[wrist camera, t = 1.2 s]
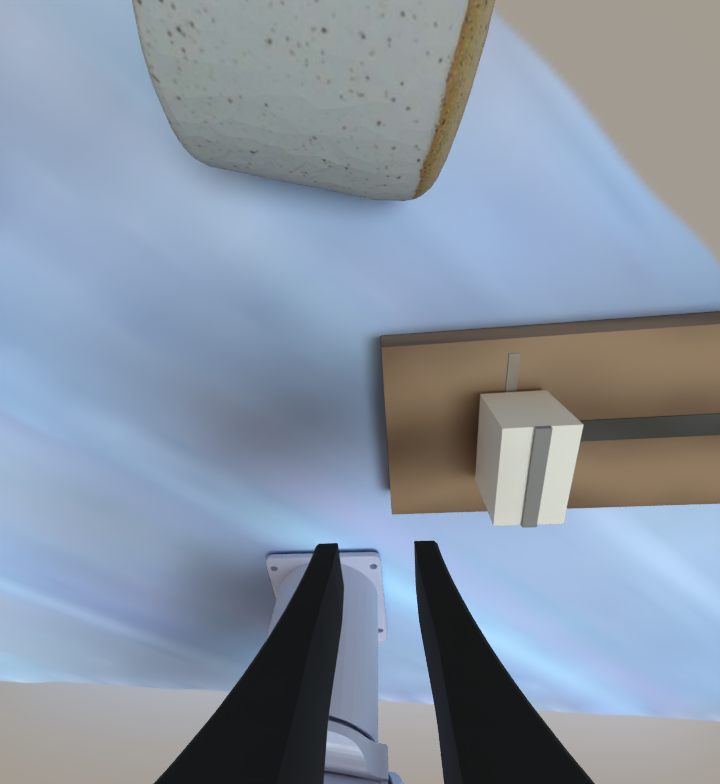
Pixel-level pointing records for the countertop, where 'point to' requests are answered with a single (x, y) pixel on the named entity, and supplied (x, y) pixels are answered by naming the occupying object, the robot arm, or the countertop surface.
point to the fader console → (575, 392)
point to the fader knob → (526, 457)
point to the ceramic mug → (317, 86)
